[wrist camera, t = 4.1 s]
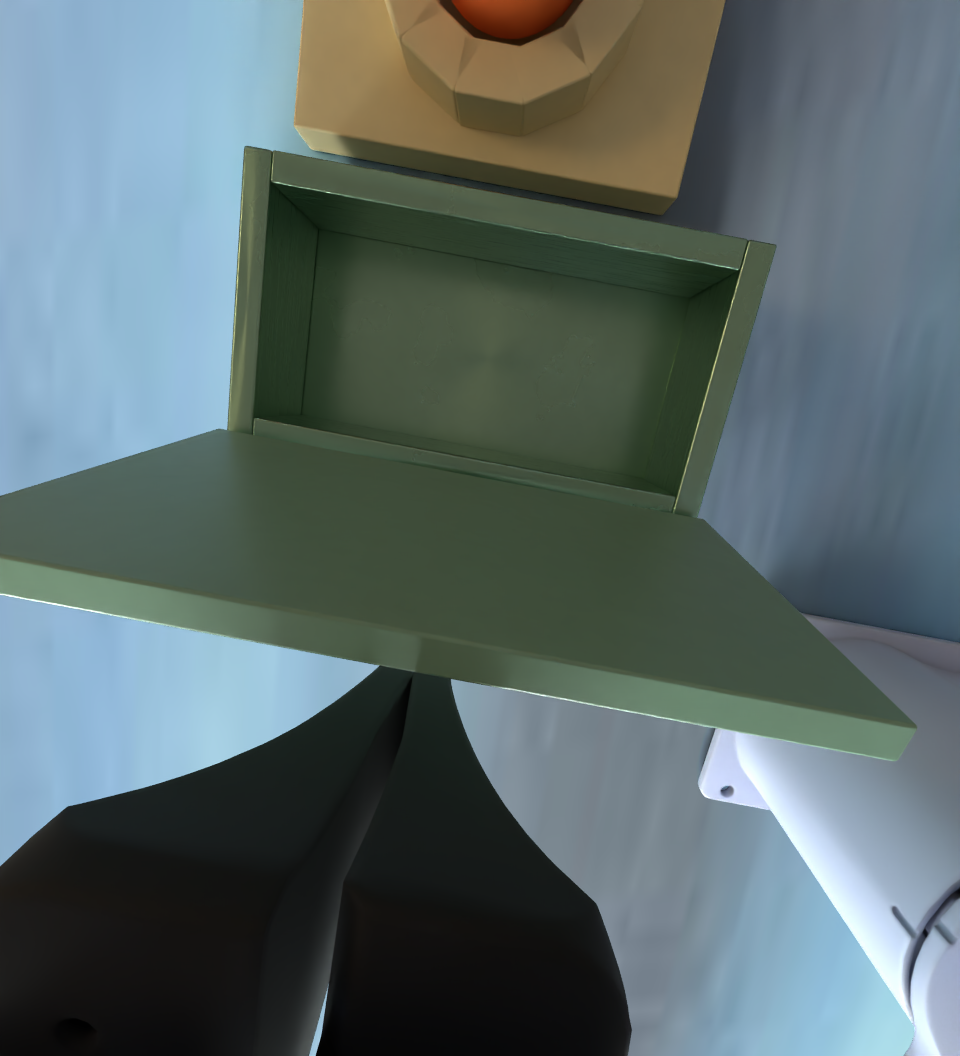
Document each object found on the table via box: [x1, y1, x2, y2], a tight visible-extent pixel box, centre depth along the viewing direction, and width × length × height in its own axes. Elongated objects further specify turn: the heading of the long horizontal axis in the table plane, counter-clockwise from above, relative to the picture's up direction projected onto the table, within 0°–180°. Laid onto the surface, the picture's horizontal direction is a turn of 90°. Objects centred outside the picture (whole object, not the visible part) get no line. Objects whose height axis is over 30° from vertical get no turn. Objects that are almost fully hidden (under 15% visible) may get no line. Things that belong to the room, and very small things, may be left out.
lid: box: [0, 429, 917, 761], centre depth 10 cm, size 8×13×1 cm
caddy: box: [227, 146, 776, 518], centre depth 15 cm, size 7×13×4 cm, turn 80°
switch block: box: [294, 0, 726, 215], centre depth 13 cm, size 11×7×3 cm, turn 80°
